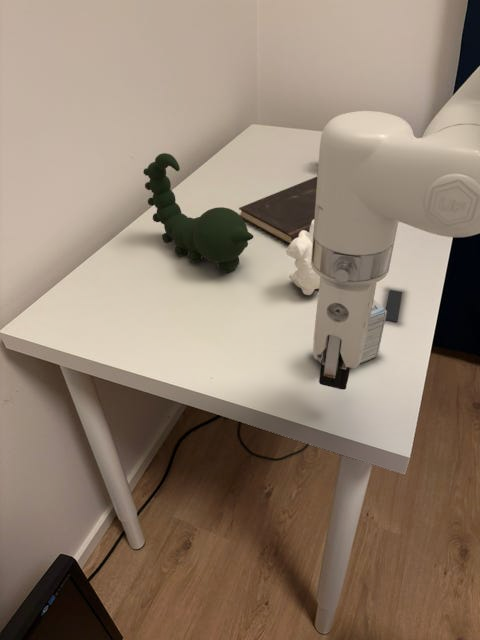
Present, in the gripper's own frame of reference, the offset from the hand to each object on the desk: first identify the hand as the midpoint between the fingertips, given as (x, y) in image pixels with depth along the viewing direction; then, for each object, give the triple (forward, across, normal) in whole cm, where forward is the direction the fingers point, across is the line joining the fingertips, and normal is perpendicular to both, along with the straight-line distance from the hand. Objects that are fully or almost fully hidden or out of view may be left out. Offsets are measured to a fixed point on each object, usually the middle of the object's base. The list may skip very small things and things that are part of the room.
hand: (333, 382), depth 58 cm
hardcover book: (+5, +51, +16) cm, 54 cm away
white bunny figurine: (+5, +25, +9) cm, 27 cm away
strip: (+5, +24, -5) cm, 25 cm away
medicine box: (+5, +10, 0) cm, 11 cm away
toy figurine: (+5, +29, +30) cm, 42 cm away
